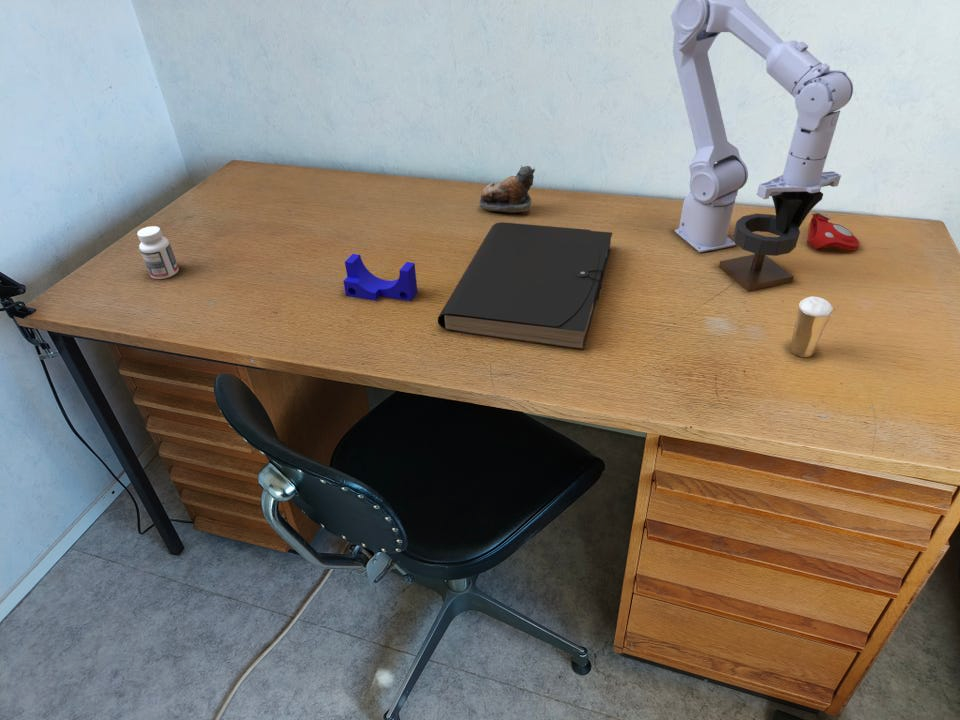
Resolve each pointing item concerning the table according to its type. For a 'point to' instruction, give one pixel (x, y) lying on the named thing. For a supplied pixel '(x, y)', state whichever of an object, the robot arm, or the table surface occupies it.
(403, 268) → the blue cradle bracket
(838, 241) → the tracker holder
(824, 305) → the milkshake
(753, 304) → the table surface
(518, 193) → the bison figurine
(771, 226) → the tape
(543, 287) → the dark grey book
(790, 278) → the brown peg stand
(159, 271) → the pill bottle
